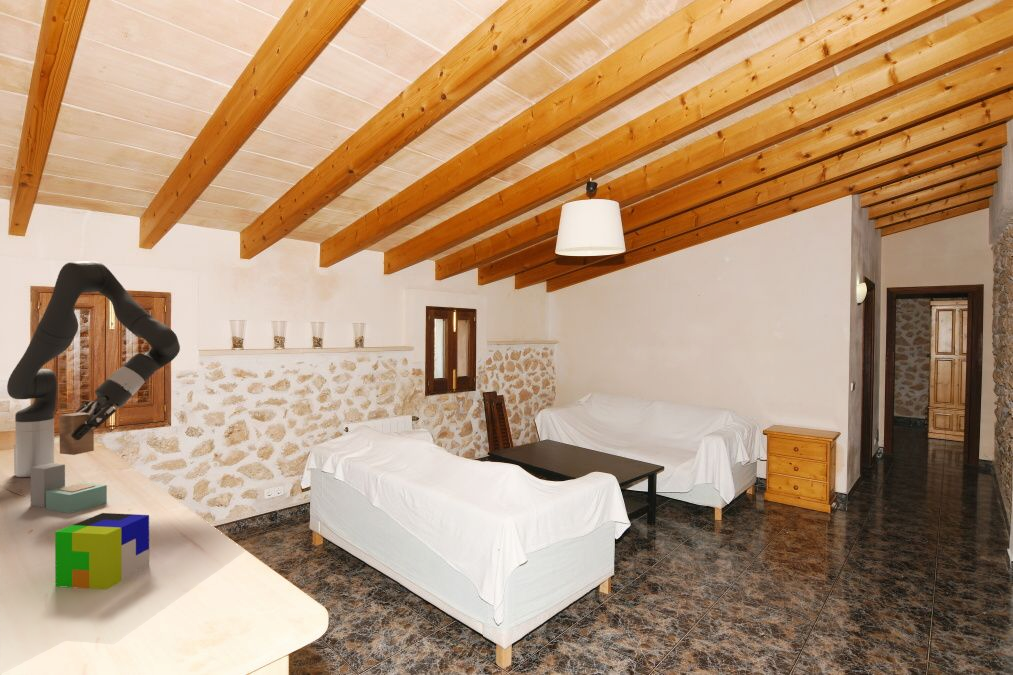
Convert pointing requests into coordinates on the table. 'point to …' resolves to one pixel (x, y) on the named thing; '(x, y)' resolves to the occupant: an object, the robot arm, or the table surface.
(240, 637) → the table surface
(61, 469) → the slate-grey block
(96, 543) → the puzzle toy
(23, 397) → the robot arm
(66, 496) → the teal base block
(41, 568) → the table surface
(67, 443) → the walnut block
